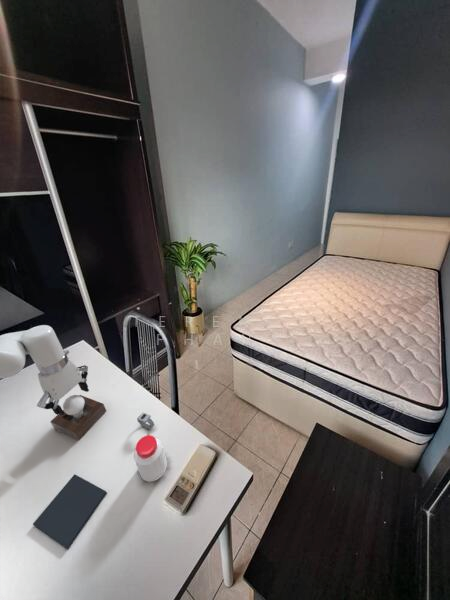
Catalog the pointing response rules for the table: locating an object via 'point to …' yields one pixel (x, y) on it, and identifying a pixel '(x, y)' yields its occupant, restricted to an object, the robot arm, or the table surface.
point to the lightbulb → (74, 406)
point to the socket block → (84, 424)
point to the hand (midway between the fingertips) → (73, 401)
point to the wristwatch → (145, 420)
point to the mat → (70, 510)
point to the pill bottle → (150, 458)
